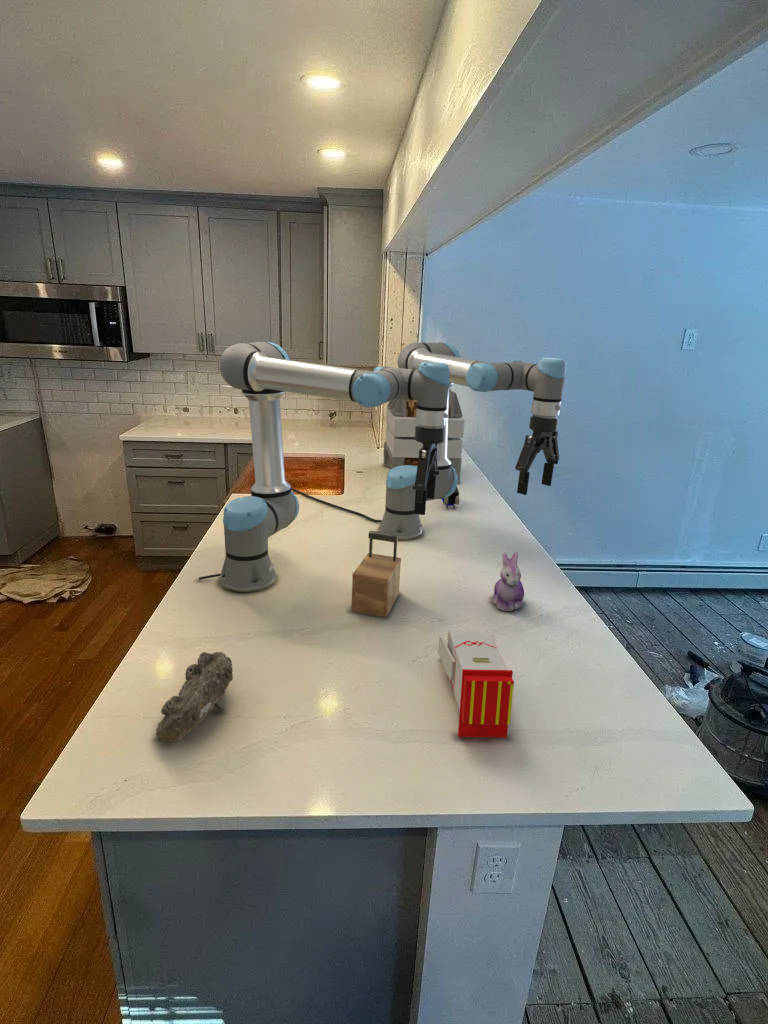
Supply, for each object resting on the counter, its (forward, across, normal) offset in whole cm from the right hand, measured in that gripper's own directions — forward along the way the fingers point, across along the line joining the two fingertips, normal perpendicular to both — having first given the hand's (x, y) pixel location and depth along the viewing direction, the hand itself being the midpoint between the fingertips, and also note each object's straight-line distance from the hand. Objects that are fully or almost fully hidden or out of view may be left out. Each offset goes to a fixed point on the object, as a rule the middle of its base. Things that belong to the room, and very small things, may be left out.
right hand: (534, 489), depth 164 cm
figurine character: (+28, +34, +55) cm, 70 cm away
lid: (+18, -46, +17) cm, 52 cm away
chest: (+27, -46, +17) cm, 56 cm away
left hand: (+1, -34, +13) cm, 36 cm away
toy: (+27, -58, -23) cm, 68 cm away
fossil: (+27, -101, +10) cm, 105 cm away
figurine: (+27, -20, -8) cm, 34 cm away
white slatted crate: (+28, +60, +94) cm, 115 cm away
